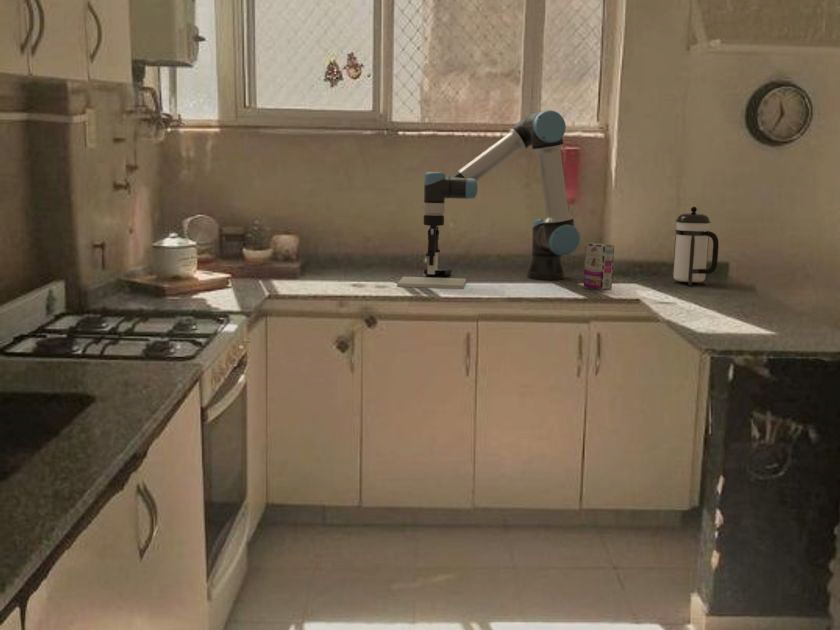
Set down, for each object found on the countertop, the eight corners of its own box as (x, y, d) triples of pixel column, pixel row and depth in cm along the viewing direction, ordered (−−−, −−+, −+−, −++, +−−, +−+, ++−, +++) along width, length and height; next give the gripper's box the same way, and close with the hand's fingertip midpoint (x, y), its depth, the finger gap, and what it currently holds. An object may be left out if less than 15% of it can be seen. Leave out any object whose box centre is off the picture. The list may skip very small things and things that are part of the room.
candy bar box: (612, 290, 335) (615, 245, 332) (601, 290, 332) (604, 245, 330) (593, 286, 344) (595, 242, 342) (582, 286, 342) (584, 242, 339)
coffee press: (668, 285, 351) (673, 206, 346) (669, 280, 366) (674, 205, 361) (715, 288, 346) (721, 208, 341) (715, 283, 361) (720, 206, 356)
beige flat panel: (465, 281, 348) (465, 278, 348) (463, 288, 329) (463, 285, 329) (403, 279, 350) (403, 276, 350) (397, 286, 331) (397, 283, 331)
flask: (423, 268, 358) (431, 267, 368) (423, 276, 359) (431, 274, 369) (446, 270, 355) (453, 268, 366) (445, 277, 356) (453, 276, 366)
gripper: (426, 212, 348) (425, 267, 351) (420, 216, 323) (419, 275, 327) (446, 213, 347) (444, 268, 351) (441, 216, 323) (440, 276, 326)
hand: (432, 272), depth 339 cm, fingers open, 13 cm apart
